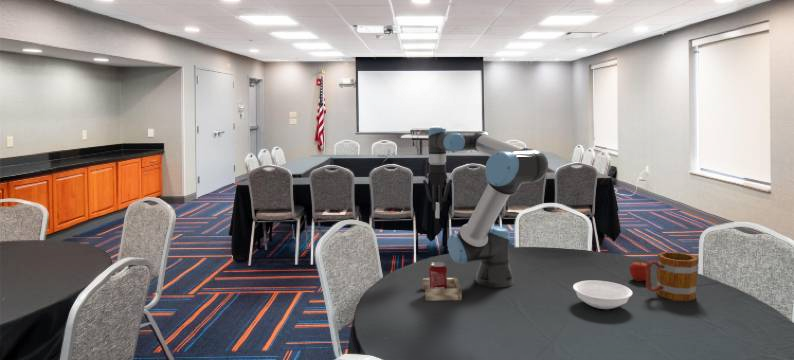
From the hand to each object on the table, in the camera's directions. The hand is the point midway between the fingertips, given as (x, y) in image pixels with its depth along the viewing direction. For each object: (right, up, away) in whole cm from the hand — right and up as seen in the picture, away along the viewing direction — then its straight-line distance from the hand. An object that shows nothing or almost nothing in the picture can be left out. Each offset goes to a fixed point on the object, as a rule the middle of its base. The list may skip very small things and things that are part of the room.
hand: (437, 217), depth 222 cm
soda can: (-2, -28, -25) cm, 37 cm away
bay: (-1, -28, -24) cm, 37 cm away
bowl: (+56, -29, -39) cm, 74 cm away
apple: (+83, -25, -11) cm, 87 cm away
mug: (+85, -28, -29) cm, 94 cm away
